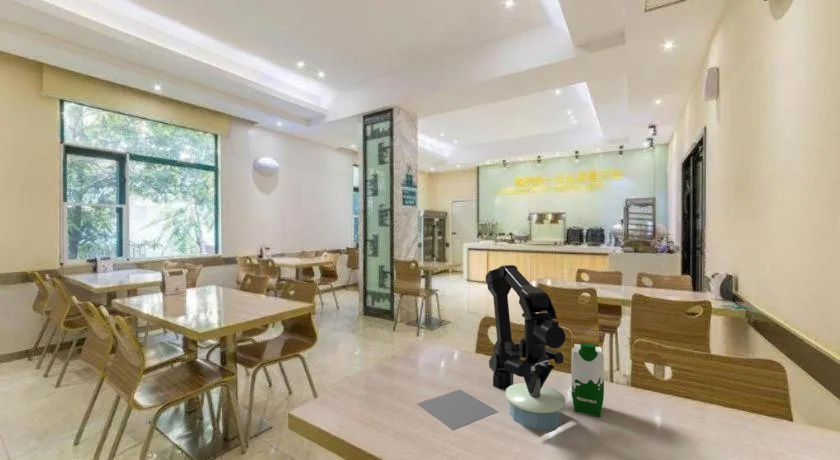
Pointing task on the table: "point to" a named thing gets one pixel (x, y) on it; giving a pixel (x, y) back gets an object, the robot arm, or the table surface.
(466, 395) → the mat
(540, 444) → the table surface
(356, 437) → the table surface
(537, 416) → the ring
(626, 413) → the table surface
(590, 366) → the milk carton
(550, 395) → the lid
